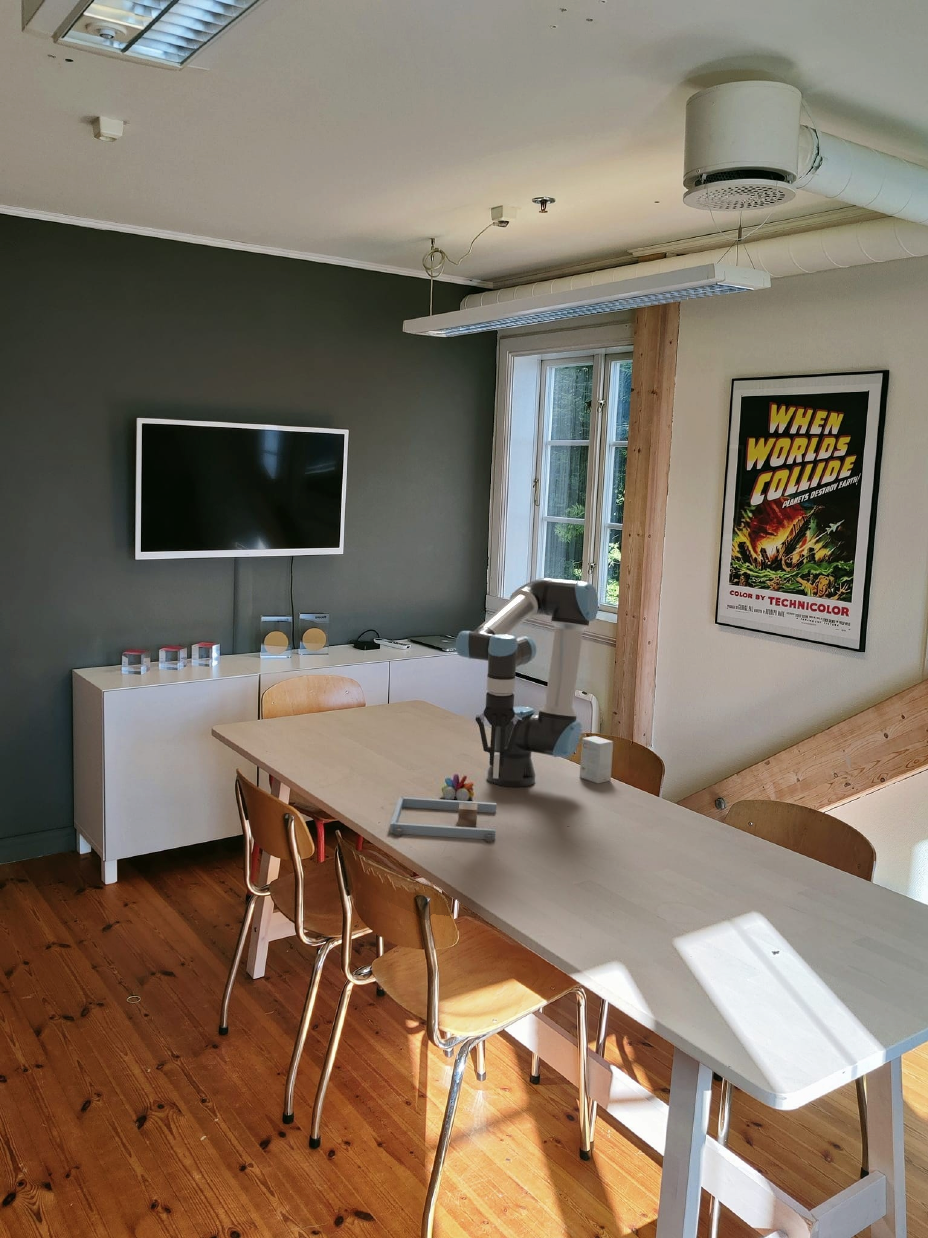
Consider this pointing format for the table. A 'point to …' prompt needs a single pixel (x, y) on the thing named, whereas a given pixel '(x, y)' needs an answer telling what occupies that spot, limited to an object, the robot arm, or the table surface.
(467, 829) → the cart frame
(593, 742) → the small box
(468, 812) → the walnut block
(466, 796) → the rainbow segmented toy
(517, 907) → the table surface
